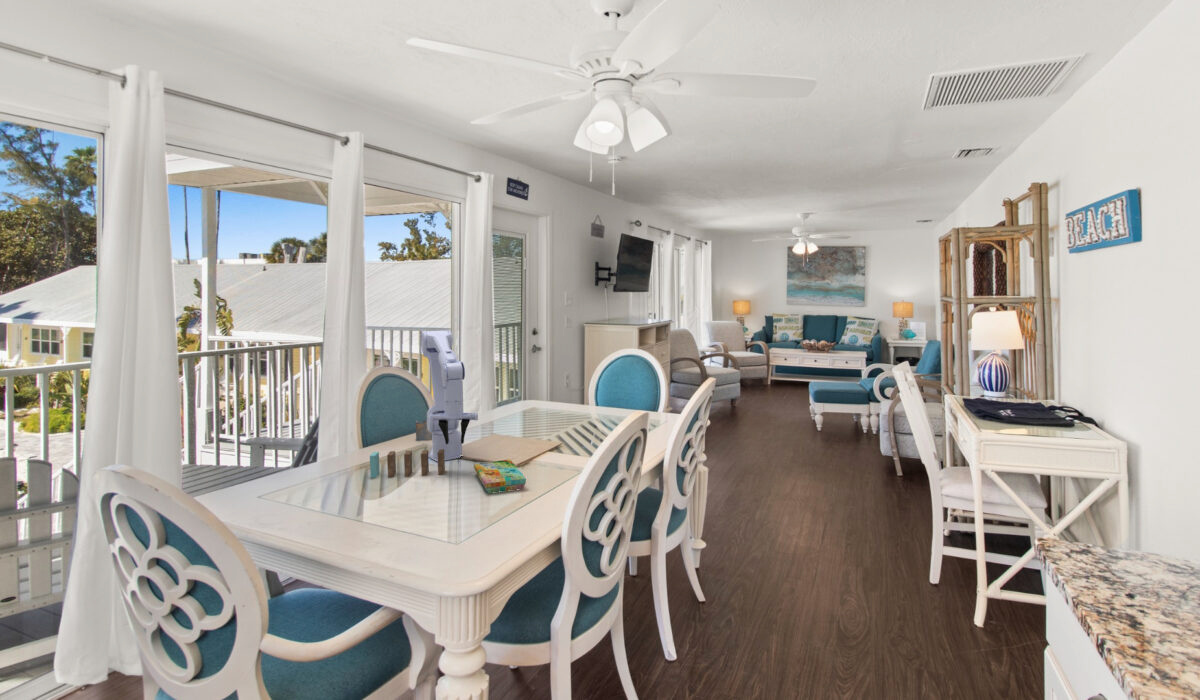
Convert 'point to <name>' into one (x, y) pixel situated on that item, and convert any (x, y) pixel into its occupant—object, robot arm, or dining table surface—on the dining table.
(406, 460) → the domino
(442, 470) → the domino
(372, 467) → the domino
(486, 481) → the puzzle game
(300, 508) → the dining table surface
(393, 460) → the domino
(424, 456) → the domino
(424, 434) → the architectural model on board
